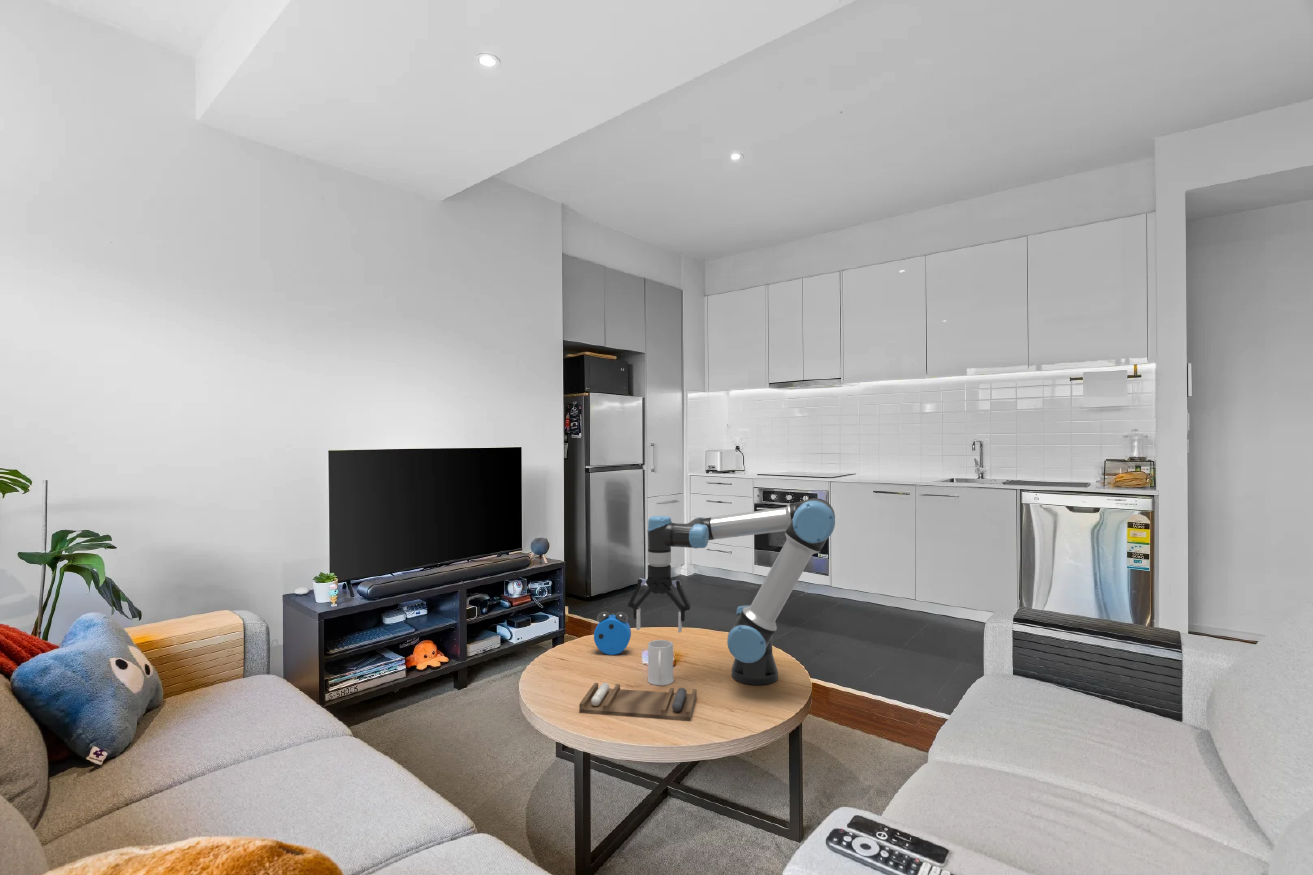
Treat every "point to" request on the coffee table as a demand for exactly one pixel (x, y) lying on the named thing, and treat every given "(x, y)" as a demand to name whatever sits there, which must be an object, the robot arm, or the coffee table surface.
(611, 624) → the alarm clock
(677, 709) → the dark grey rounded rod
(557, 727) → the coffee table surface
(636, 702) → the tray
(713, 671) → the coffee table surface
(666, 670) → the mug
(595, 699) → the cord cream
